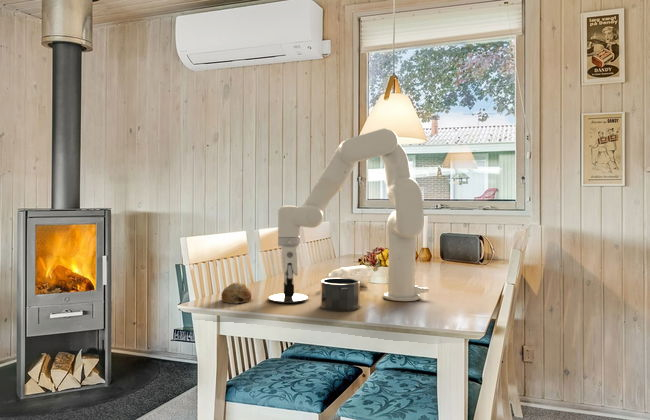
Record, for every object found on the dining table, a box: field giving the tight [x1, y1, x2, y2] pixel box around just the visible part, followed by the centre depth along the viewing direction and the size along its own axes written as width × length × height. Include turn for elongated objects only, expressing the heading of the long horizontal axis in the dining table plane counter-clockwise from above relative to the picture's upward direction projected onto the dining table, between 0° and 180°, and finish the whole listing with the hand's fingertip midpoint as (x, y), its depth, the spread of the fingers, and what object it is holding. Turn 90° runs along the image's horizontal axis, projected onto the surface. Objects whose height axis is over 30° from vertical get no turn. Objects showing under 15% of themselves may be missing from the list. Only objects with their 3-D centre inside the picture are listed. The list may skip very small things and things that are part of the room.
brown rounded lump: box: [221, 282, 252, 305], centre depth 178 cm, size 10×10×8 cm
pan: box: [320, 278, 361, 312], centre depth 170 cm, size 12×18×8 cm
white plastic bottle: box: [323, 265, 372, 287], centre depth 205 cm, size 8×19×8 cm, turn 125°
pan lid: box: [268, 283, 309, 304], centre depth 180 cm, size 13×13×6 cm
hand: (288, 294), depth 180 cm, fingers open, 3 cm apart
